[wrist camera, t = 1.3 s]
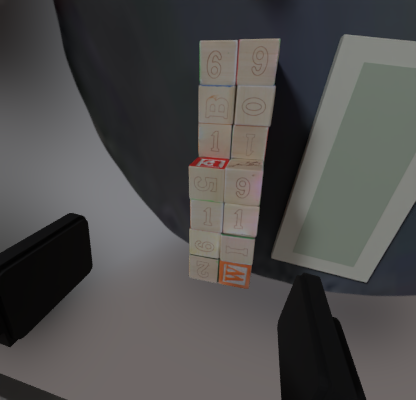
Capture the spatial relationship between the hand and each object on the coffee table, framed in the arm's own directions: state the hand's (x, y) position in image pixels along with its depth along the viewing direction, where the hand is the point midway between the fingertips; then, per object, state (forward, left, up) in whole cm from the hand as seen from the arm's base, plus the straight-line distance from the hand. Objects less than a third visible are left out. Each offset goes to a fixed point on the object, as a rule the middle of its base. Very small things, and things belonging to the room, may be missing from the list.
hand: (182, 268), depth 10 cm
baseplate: (-14, 0, -22) cm, 26 cm away
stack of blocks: (0, 0, -22) cm, 22 cm away
